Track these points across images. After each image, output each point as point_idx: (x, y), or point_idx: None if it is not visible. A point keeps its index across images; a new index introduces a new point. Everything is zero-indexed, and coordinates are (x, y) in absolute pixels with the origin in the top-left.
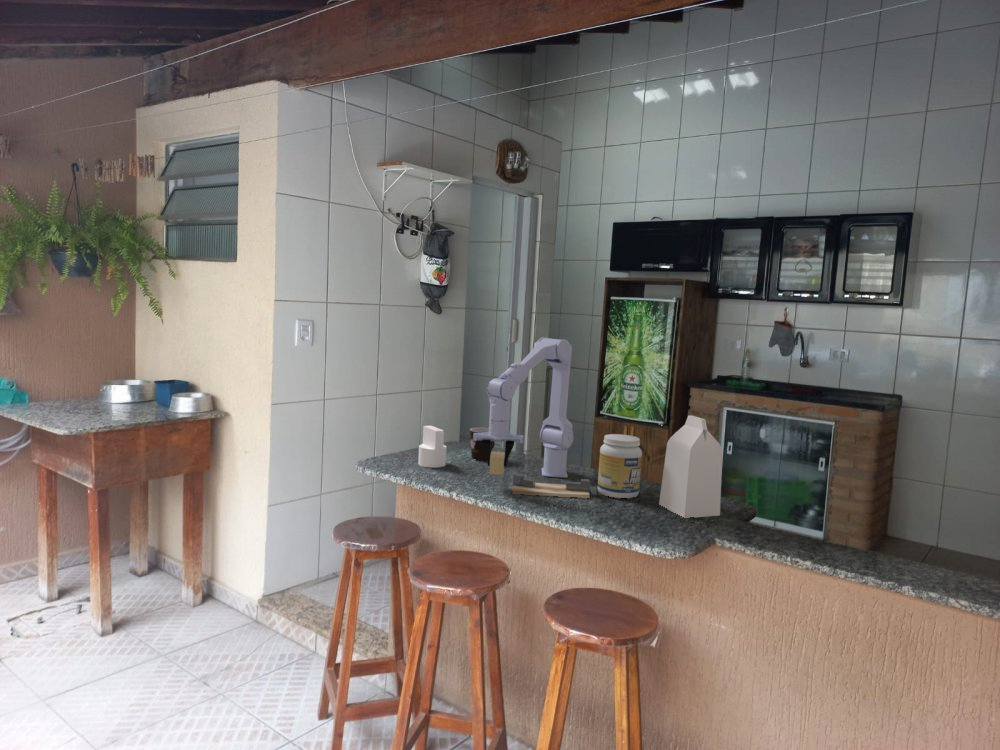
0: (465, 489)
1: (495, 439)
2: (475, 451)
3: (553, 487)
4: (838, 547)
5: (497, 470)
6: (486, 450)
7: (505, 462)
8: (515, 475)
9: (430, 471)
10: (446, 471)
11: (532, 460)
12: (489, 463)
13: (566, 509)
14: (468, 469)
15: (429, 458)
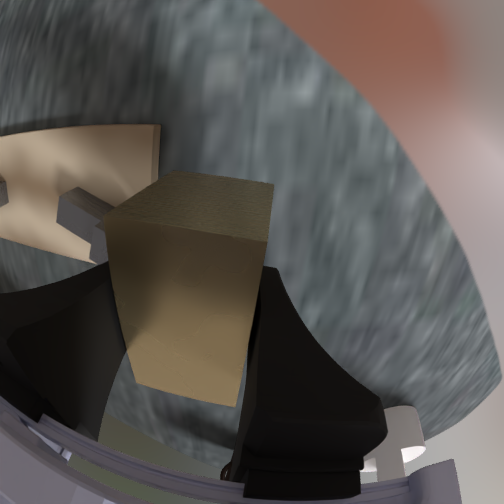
0: (385, 194)
1: (64, 479)
2: None
3: (30, 204)
4: None
5: (207, 182)
6: (307, 354)
7: None
8: None
9: (418, 382)
10: (376, 389)
11: (144, 427)
12: (265, 273)
13: (31, 14)
14: None
15: (409, 425)
